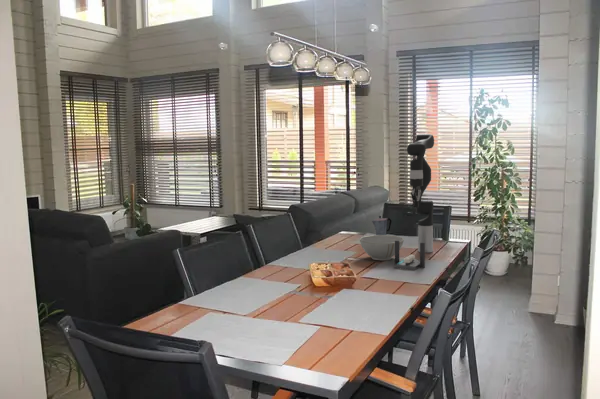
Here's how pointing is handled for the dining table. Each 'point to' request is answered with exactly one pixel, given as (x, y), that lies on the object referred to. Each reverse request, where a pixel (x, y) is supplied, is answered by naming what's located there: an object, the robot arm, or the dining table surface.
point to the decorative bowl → (380, 246)
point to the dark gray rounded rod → (396, 252)
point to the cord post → (422, 255)
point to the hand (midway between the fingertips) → (416, 207)
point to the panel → (408, 265)
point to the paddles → (409, 258)
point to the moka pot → (381, 225)
